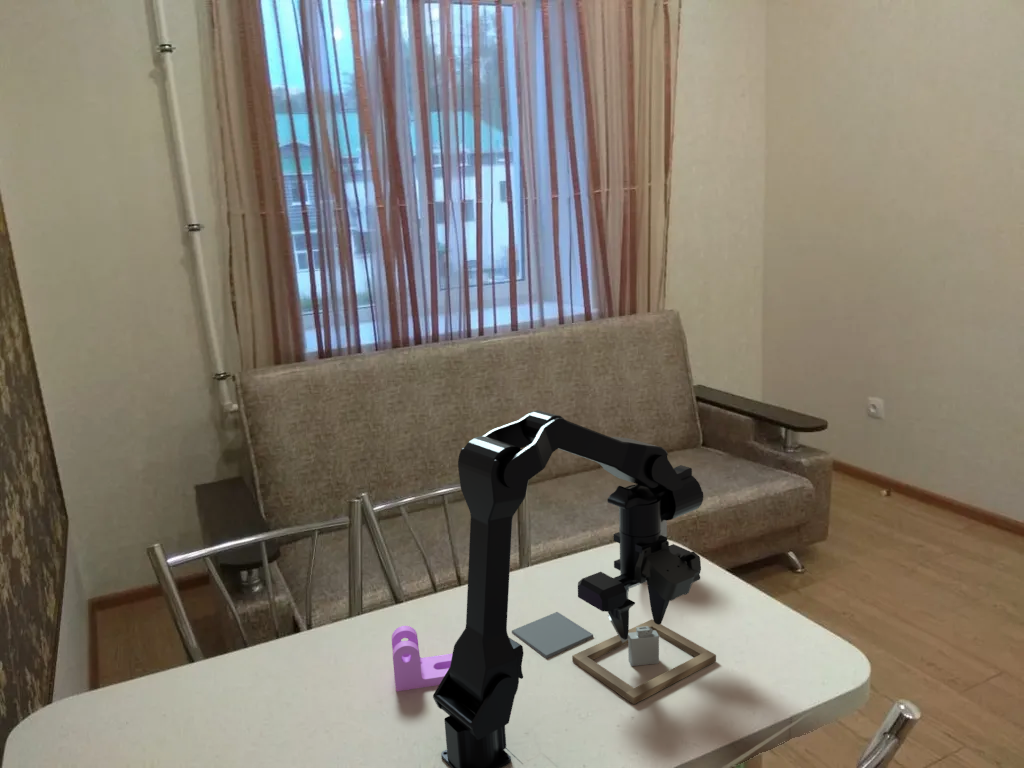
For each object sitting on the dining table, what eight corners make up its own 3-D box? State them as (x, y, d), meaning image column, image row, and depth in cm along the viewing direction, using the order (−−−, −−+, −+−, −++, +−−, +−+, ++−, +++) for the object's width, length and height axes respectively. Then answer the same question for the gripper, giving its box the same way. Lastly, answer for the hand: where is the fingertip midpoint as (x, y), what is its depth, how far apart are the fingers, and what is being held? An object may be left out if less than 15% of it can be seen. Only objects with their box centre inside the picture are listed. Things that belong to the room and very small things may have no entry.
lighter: (655, 656, 117) (655, 606, 115) (659, 663, 115) (659, 612, 114) (608, 661, 116) (607, 611, 115) (611, 668, 115) (610, 617, 113)
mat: (546, 658, 118) (546, 655, 118) (511, 633, 125) (511, 630, 125) (593, 637, 123) (593, 634, 123) (557, 615, 130) (557, 611, 130)
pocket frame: (633, 704, 106) (633, 697, 106) (572, 661, 117) (572, 655, 117) (716, 661, 115) (716, 654, 115) (652, 625, 125) (651, 619, 125)
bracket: (396, 692, 112) (391, 647, 111) (394, 670, 117) (390, 627, 116) (487, 678, 114) (484, 634, 113) (482, 657, 120) (479, 615, 118)
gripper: (630, 567, 100) (631, 680, 103) (730, 529, 110) (729, 632, 113) (573, 539, 109) (576, 643, 112) (671, 506, 119) (671, 602, 122)
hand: (640, 630), depth 115 cm, fingers open, 6 cm apart
